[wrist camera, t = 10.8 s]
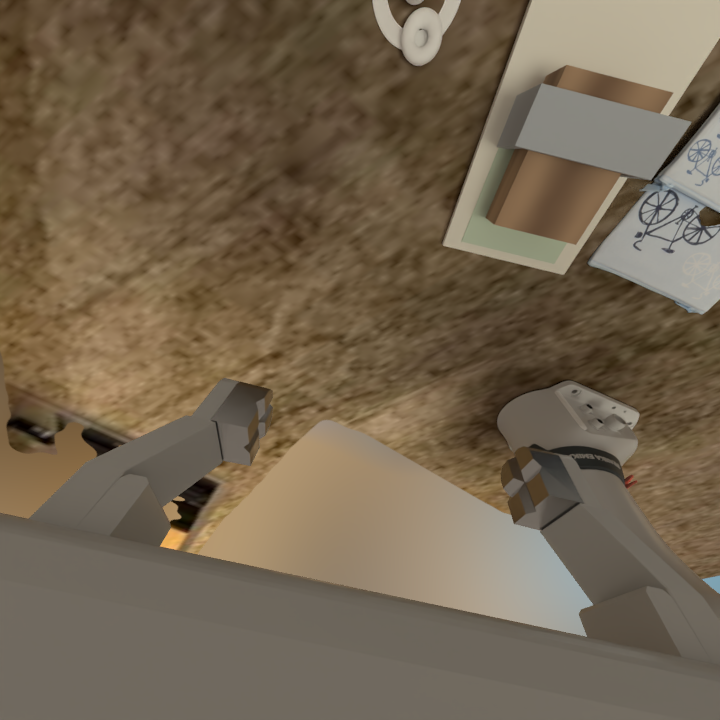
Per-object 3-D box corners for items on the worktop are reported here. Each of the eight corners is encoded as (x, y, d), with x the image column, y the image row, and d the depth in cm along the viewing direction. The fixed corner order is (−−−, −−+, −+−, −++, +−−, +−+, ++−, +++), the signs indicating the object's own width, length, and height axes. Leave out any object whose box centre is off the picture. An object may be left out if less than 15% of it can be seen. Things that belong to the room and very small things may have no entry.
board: (805, -108, 20) (825, -120, 19) (560, 272, 37) (564, 275, 36) (590, -168, 20) (599, -185, 19) (442, 243, 36) (443, 245, 35)
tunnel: (640, 127, 27) (692, 122, 22) (610, 175, 30) (650, 180, 25) (516, 95, 27) (541, 83, 22) (496, 146, 29) (514, 145, 25)
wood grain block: (640, 100, 26) (673, 92, 23) (559, 235, 33) (575, 244, 30) (546, 75, 26) (566, 64, 22) (485, 217, 33) (494, 224, 30)
